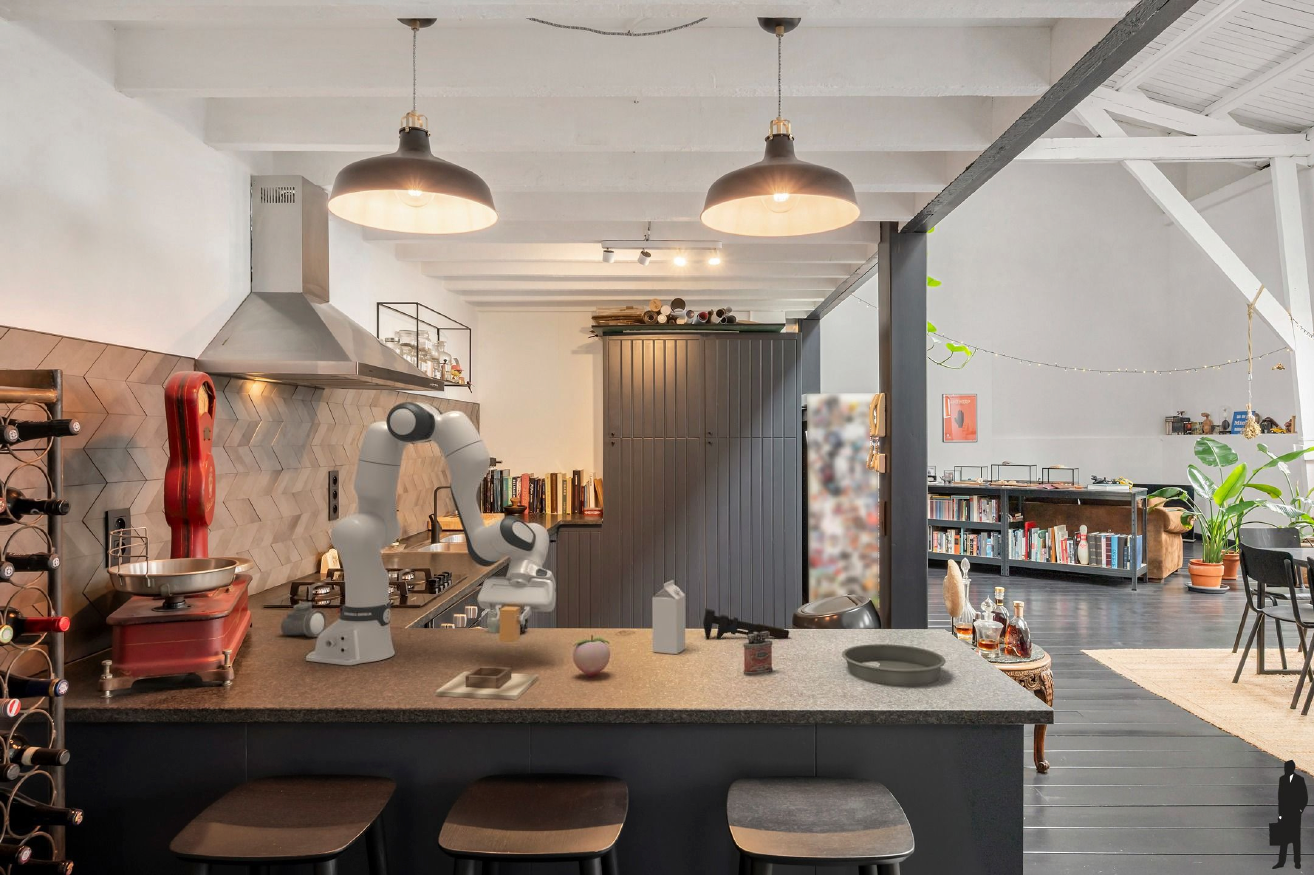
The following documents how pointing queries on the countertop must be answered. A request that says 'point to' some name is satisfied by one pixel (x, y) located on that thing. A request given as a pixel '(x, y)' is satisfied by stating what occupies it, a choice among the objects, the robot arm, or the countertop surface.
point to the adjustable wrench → (738, 626)
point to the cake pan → (894, 664)
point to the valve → (494, 626)
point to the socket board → (488, 684)
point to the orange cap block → (509, 624)
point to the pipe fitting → (304, 621)
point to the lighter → (758, 654)
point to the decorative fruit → (591, 655)
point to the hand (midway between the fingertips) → (509, 622)
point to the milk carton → (669, 619)
